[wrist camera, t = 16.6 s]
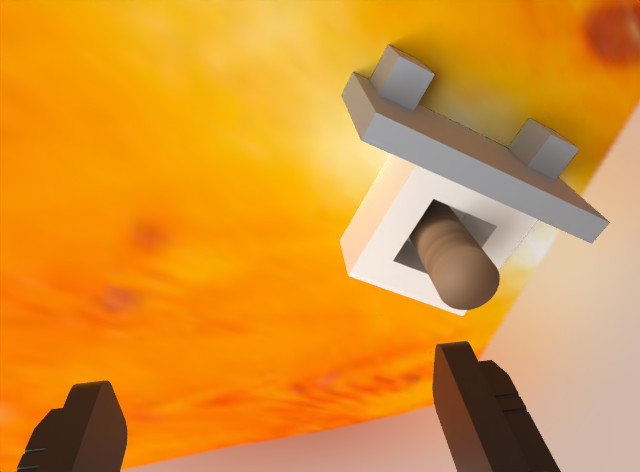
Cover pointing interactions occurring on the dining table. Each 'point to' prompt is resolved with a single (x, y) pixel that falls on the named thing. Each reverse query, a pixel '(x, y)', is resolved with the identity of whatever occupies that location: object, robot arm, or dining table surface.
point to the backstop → (468, 147)
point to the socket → (403, 215)
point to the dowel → (454, 259)
